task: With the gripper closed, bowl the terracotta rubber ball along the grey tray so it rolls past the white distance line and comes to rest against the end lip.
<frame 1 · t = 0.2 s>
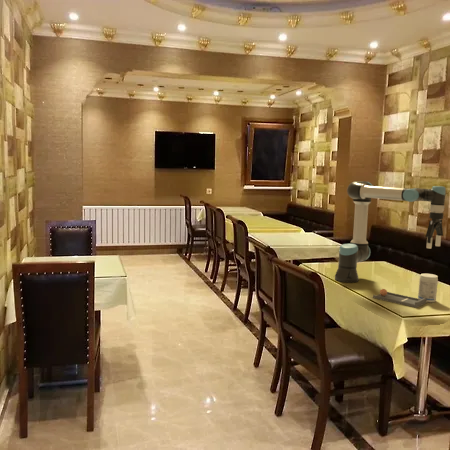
hand: (433, 247, 287), 28 cm above the table, fingers open, 13 cm apart
supplement tub: (426, 300, 272), on the table
grey tray: (398, 300, 270), on the table
ball: (383, 292, 276), point 3 cm above the table, touching grey tray
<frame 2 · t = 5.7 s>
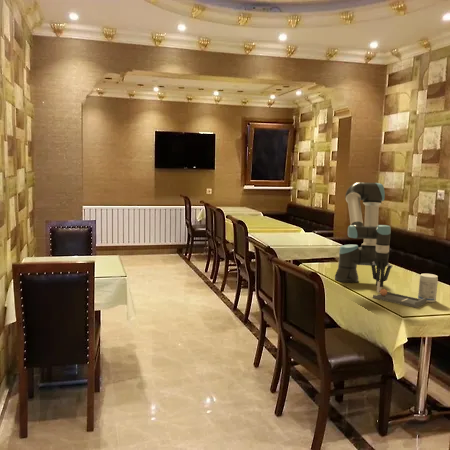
hand: (378, 291, 278), 2 cm above the table, fingers closed
ball: (383, 292, 276), point 3 cm above the table, touching gripper, grey tray
everything else where it was.
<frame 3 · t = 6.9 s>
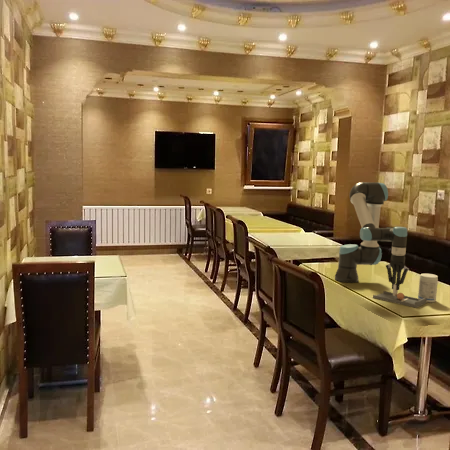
hand: (394, 295, 271), 3 cm above the table, fingers closed
ball: (400, 296, 269), point 3 cm above the table, tilted 78°, touching grey tray
everything else where it was.
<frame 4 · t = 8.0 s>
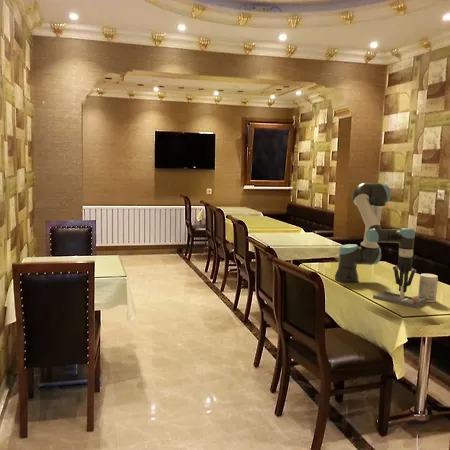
hand: (402, 297, 268), 2 cm above the table, fingers closed
ball: (415, 299, 263), point 3 cm above the table, tilted 173°, touching grey tray
everything else where it was.
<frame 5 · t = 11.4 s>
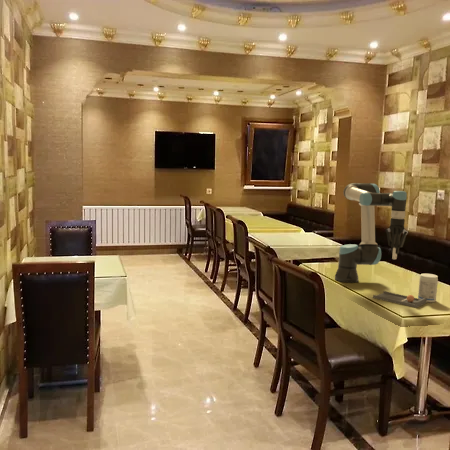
hand: (394, 258, 274), 22 cm above the table, fingers closed
ball: (410, 298, 265), point 3 cm above the table, tilted 88°, touching grey tray
everything else where it was.
at the end: ball inside the target area (2.2 cm from its centre), point 2.6 cm above the table; the gripper is holding nothing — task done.
